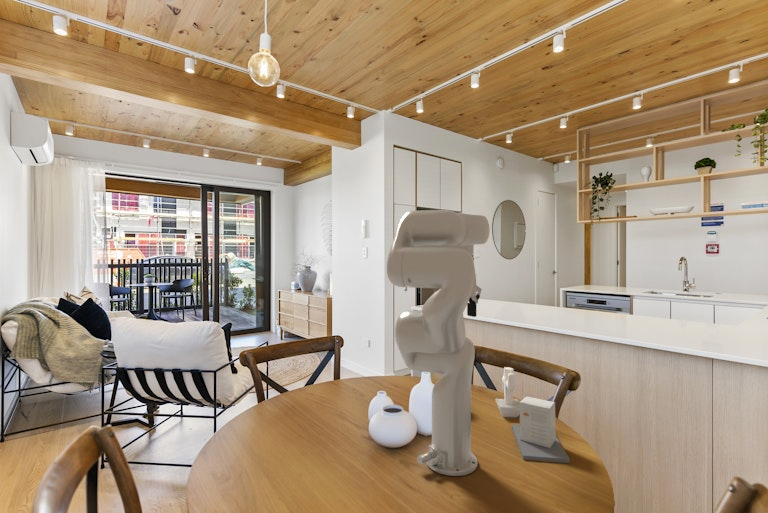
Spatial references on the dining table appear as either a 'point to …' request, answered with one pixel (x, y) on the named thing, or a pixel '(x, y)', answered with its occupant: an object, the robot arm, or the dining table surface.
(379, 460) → the dining table surface
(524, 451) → the mat
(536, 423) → the small box
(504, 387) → the figurine
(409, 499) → the dining table surface
